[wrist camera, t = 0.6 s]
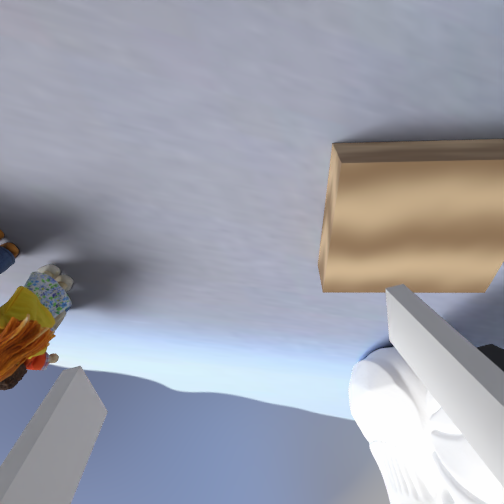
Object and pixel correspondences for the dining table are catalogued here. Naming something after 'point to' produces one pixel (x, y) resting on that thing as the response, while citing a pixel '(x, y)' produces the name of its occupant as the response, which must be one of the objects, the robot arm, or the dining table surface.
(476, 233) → the oak slab
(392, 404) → the decorative rooster
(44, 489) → the robot arm
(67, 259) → the dining table surface
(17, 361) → the doll family
